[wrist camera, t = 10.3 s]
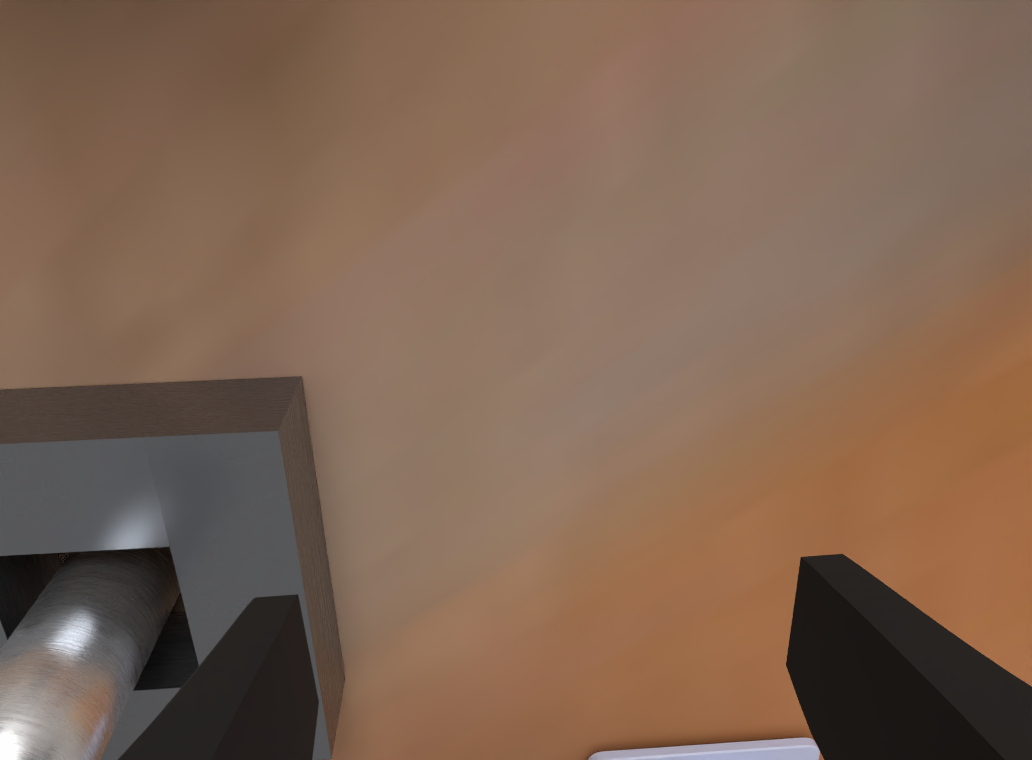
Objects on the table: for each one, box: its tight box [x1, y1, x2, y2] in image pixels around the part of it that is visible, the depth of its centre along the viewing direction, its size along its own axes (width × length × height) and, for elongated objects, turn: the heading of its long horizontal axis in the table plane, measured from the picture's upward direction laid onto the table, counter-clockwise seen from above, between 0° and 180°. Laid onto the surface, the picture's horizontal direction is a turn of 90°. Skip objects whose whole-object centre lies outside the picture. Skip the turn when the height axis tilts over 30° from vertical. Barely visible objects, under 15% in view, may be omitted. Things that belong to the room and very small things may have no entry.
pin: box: [0, 547, 181, 760], centre depth 18 cm, size 3×3×10 cm
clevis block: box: [0, 377, 345, 760], centre depth 21 cm, size 10×10×3 cm
